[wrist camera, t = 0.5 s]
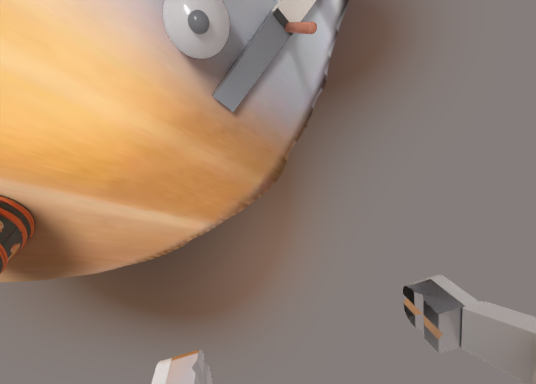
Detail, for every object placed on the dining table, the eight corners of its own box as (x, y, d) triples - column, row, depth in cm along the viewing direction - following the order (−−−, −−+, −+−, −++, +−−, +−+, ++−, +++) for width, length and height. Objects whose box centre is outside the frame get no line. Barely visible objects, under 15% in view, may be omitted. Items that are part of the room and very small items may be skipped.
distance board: (212, 94, 51) (222, 110, 42) (302, -35, 45) (339, -50, 35) (231, 109, 54) (244, 127, 45) (319, -10, 48) (357, -18, 38)
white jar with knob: (151, 24, 42) (148, 25, 35) (184, -31, 40) (188, -43, 33) (201, 66, 48) (207, 74, 41) (232, 20, 46) (245, 19, 39)
